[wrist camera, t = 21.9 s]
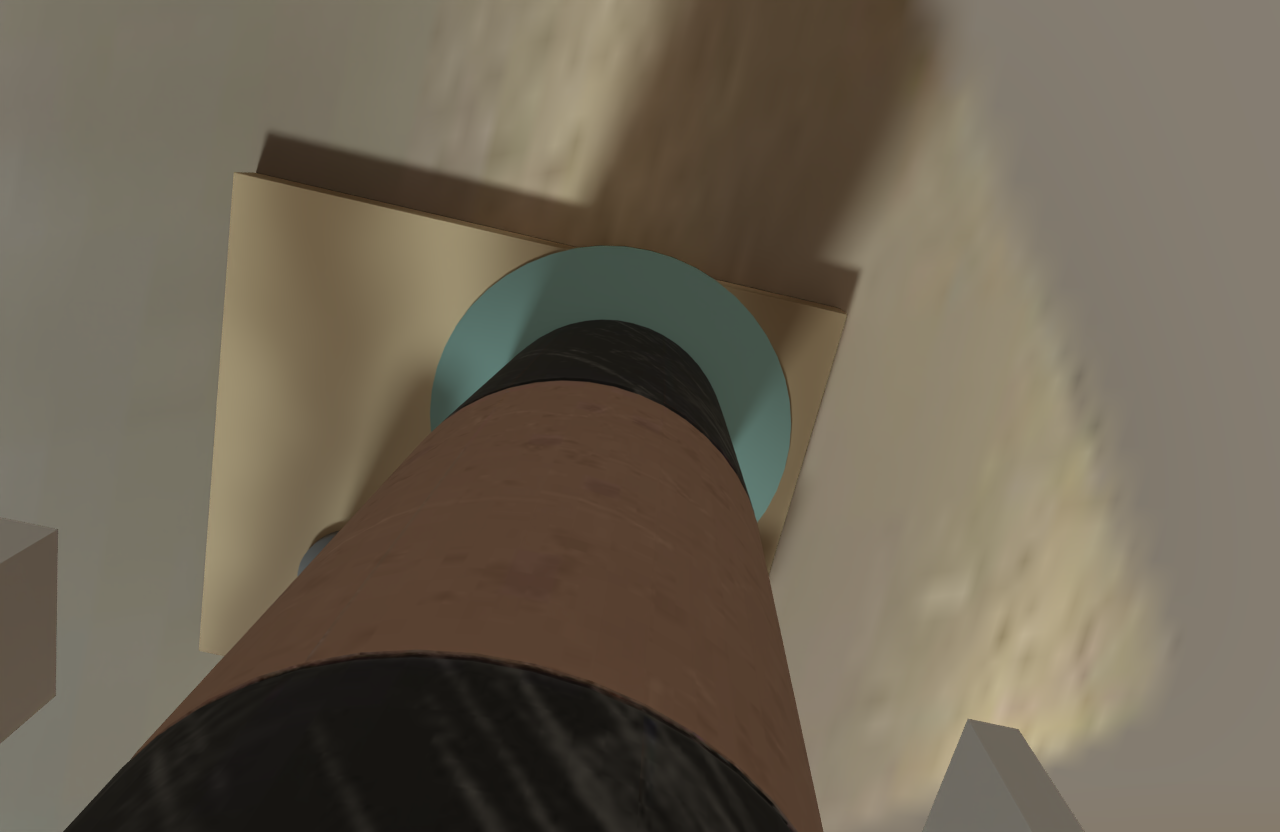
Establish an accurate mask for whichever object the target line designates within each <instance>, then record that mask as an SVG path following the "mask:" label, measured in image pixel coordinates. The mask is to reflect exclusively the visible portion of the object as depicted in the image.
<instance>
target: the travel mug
mask: <svg viewBox="0 0 1280 832" xmlns="http://www.w3.org/2000/svg"><path fill="white" fill-rule="evenodd" d="M63 832H823V828H822V823H821V818H820V814H819V809H818V804H817V800H816V795H815V790H814V786H813V781H812V776H811V772H810V767H809V762H808V758H807V753H806V748H805V744H804V739H803V734H802V730H801V725H800V720H799V716H798V711H797V706H796V702H795V697H794V692H793V688H792V683H791V678H790V674H789V669H788V664H787V660H786V655H785V650H784V646H783V641H782V636H781V632H780V627H779V622H778V618H777V613H776V608H775V604H774V599H773V594H772V590H771V585H770V580H769V576H768V571H767V566H766V562H765V557H764V552H763V548H762V543H761V538H760V534H759V529H758V524H757V520H756V517H755V513H754V510H753V507H752V503H751V500H750V497H749V494H748V491H747V488H746V485H745V482H744V478H743V475H742V472H741V469H740V466H739V463H738V460H737V456H736V453H735V450H734V447H733V444H732V441H731V438H730V435H729V431H728V428H727V425H726V422H725V419H724V416H723V413H722V410H721V407H720V404H719V402H718V399H717V396H716V394H715V392H714V390H713V388H712V386H711V384H710V382H709V380H708V378H707V377H706V375H705V374H704V372H703V371H702V369H701V368H700V367H699V365H698V364H697V363H696V362H695V361H694V360H693V358H692V357H691V356H690V355H689V354H688V353H687V352H686V351H684V350H683V349H682V348H681V347H680V346H679V345H677V344H676V343H675V342H673V341H672V340H670V339H669V338H667V337H665V336H664V335H662V334H660V333H658V332H656V331H654V330H652V329H649V328H647V327H644V326H641V325H637V324H634V323H630V322H624V321H619V320H603V319H601V320H588V321H582V322H577V323H573V324H569V325H566V326H563V327H561V328H558V329H555V330H553V331H551V332H549V333H548V334H546V335H544V336H542V337H540V338H538V339H537V340H536V341H534V342H533V343H531V344H530V345H529V346H527V347H526V348H525V349H523V350H522V351H521V352H520V353H518V354H517V355H516V356H515V357H514V358H513V359H512V360H511V361H509V362H508V363H507V364H506V365H505V366H504V367H503V368H502V369H501V370H499V371H498V372H497V373H496V374H495V375H494V376H493V377H492V378H490V379H489V380H488V381H487V382H486V383H485V384H484V385H483V386H482V387H480V388H479V389H478V390H477V391H476V392H475V393H474V394H473V395H472V396H470V397H469V398H468V399H467V400H466V401H465V402H464V403H463V404H461V405H460V406H459V407H458V408H457V409H456V410H455V411H454V412H453V413H451V414H450V415H449V416H448V417H447V418H446V419H445V420H444V421H443V422H442V423H441V424H439V425H438V426H437V427H436V428H435V429H434V430H433V431H432V432H431V433H430V434H429V435H428V436H427V437H426V438H425V439H424V440H423V441H422V442H421V443H420V444H419V445H418V446H417V447H416V448H415V449H414V450H413V452H412V453H411V454H410V455H409V456H408V457H407V458H406V459H405V460H404V461H403V462H402V464H401V465H400V466H399V467H398V468H397V469H396V470H395V471H394V472H393V473H392V474H391V476H390V477H389V478H388V479H387V480H386V481H385V482H384V483H383V484H382V485H381V486H380V487H379V489H378V490H377V491H376V492H375V493H374V494H373V495H372V496H371V497H370V498H369V499H368V501H367V502H366V503H365V504H364V505H363V506H362V507H361V508H360V509H359V510H358V511H357V513H356V514H355V515H354V516H353V517H352V518H351V519H350V520H349V521H348V522H347V523H346V525H345V526H344V527H343V528H342V529H341V530H340V531H339V532H338V533H337V534H336V535H335V537H334V538H333V539H332V540H331V541H330V542H329V543H328V544H327V545H326V546H325V547H324V548H323V550H322V551H321V552H320V553H319V554H318V555H317V556H316V557H315V558H314V559H313V560H312V562H311V563H310V564H309V565H308V566H307V567H306V568H305V569H304V570H303V571H302V572H301V574H300V575H299V576H298V577H297V578H296V579H295V580H294V581H293V582H292V583H291V584H290V586H289V587H288V588H287V589H286V590H285V591H284V592H283V593H282V594H281V595H280V596H279V597H278V599H277V600H276V601H275V602H274V603H273V604H272V605H271V606H270V607H269V608H268V609H267V611H266V612H265V613H264V614H263V615H262V616H261V617H260V618H259V619H258V620H257V621H256V623H255V624H254V625H253V626H252V627H251V628H250V629H249V630H248V631H247V632H246V633H245V635H244V636H243V637H242V638H241V639H240V640H239V641H238V642H237V643H236V644H235V645H234V646H233V648H232V649H231V650H230V651H229V652H228V653H227V654H226V655H225V656H224V657H223V658H222V660H221V661H220V662H219V663H218V664H217V665H216V666H215V667H214V668H213V669H212V670H211V672H210V673H209V674H208V675H207V676H206V677H205V678H204V679H203V680H202V681H201V682H200V684H199V685H198V686H197V687H196V688H195V689H194V690H193V691H192V692H191V693H190V694H189V695H188V697H187V698H186V699H185V700H184V701H183V702H182V703H181V704H180V705H179V706H178V707H177V709H176V710H175V711H174V712H173V713H172V714H171V715H170V716H169V717H168V718H167V719H166V721H165V722H164V723H163V724H162V725H161V726H160V727H159V728H158V729H157V730H156V731H155V733H154V734H153V735H152V736H151V737H150V738H149V739H148V740H147V741H146V742H145V743H144V744H143V746H142V747H141V748H140V749H139V750H138V751H137V752H136V753H135V755H134V756H133V757H132V759H131V760H130V761H129V762H128V763H127V764H126V765H125V766H123V767H122V768H121V769H120V771H119V772H118V773H117V774H116V775H115V776H114V777H113V778H112V779H111V780H110V781H109V783H108V784H107V785H106V786H105V787H104V788H103V789H102V790H101V791H100V792H99V793H98V795H97V796H96V797H95V798H94V799H93V800H92V801H91V802H90V803H89V804H88V805H87V806H86V808H85V809H84V810H83V811H82V812H81V813H80V814H79V815H78V816H77V817H76V818H75V820H74V821H73V822H72V823H71V824H70V825H69V826H68V827H67V828H66V829H65V830H64V831H63Z"/></svg>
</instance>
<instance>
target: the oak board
mask: <svg viewBox="0 0 1280 832" xmlns="http://www.w3.org/2000/svg"><path fill="white" fill-rule="evenodd" d="M574 248H577V247H573V246H569V245H565V244H560V243H556V242H552V241H547V240H543V239H539V238H534V237H530V236H526V235H521V234H517V233H513V232H508V231H504V230H500V229H496V228H491V227H487V226H483V225H478V224H474V223H470V222H465V221H461V220H457V219H452V218H448V217H444V216H440V215H435V214H431V213H427V212H422V211H418V210H414V209H409V208H405V207H401V206H396V205H392V204H388V203H383V202H379V201H375V200H371V199H366V198H362V197H358V196H353V195H349V194H345V193H340V192H336V191H332V190H327V189H323V188H319V187H315V186H310V185H306V184H302V183H297V182H293V181H289V180H284V179H280V178H276V177H271V176H267V175H263V174H259V173H239V172H234V178H233V191H232V205H231V219H230V232H229V246H228V260H227V273H226V287H225V301H224V314H223V328H222V342H221V355H220V369H219V383H218V396H217V410H216V424H215V437H214V451H213V465H212V478H211V492H210V506H209V520H208V533H207V547H206V561H205V574H204V588H203V602H202V615H201V629H200V643H199V651H203V652H208V653H212V654H217V655H221V656H225V655H226V654H227V653H228V652H229V651H230V650H231V649H232V648H233V646H234V645H235V644H236V643H237V642H238V641H239V640H240V639H241V638H242V637H243V636H244V635H245V633H246V632H247V631H248V630H249V629H250V628H251V627H252V626H253V625H254V624H255V623H256V621H257V620H258V619H259V618H260V617H261V616H262V615H263V614H264V613H265V612H266V611H267V609H268V608H269V607H270V606H271V605H272V604H273V603H274V602H275V601H276V600H277V599H278V597H279V596H280V595H281V594H282V593H283V592H284V591H285V590H286V589H287V588H288V587H289V586H290V584H291V583H292V582H293V581H294V580H295V579H296V578H297V577H298V576H299V575H300V574H301V572H302V571H303V570H304V569H305V568H306V567H307V566H308V565H309V564H310V563H311V562H312V560H313V559H314V558H315V557H316V556H317V555H318V554H319V553H320V552H321V551H322V550H323V548H324V547H325V546H326V545H327V544H328V543H329V542H330V541H331V540H332V539H333V538H334V537H335V535H336V534H337V533H338V532H339V531H340V530H341V529H342V528H343V527H344V526H345V525H346V523H347V522H348V521H349V520H350V519H351V518H352V517H353V516H354V515H355V514H356V513H357V511H358V510H359V509H360V508H361V507H362V506H363V505H364V504H365V503H366V502H367V501H368V499H369V498H370V497H371V496H372V495H373V494H374V493H375V492H376V491H377V490H378V489H379V487H380V486H381V485H382V484H383V483H384V482H385V481H386V480H387V479H388V478H389V477H390V476H391V474H392V473H393V472H394V471H395V470H396V469H397V468H398V467H399V466H400V465H401V464H402V462H403V461H404V460H405V459H406V458H407V457H408V456H409V455H410V454H411V453H412V452H413V450H414V449H415V448H416V447H417V446H418V445H419V444H420V443H421V442H422V441H423V440H424V439H425V438H426V437H427V436H428V435H429V434H430V433H431V424H430V405H431V393H432V387H433V382H434V378H435V374H436V369H437V366H438V363H439V361H440V358H441V355H442V353H443V350H444V347H445V345H446V343H447V342H448V340H449V338H450V336H451V334H452V332H453V331H454V329H455V327H456V325H457V324H458V323H459V321H460V320H461V319H462V317H463V316H464V315H465V313H466V312H467V311H468V309H469V308H470V307H471V306H472V305H473V304H474V303H475V302H476V301H477V300H478V299H479V298H480V297H481V296H482V295H483V294H484V293H485V292H486V291H487V290H488V289H489V288H490V287H492V286H493V285H494V284H496V283H497V282H498V281H500V280H501V279H502V278H504V277H505V276H506V275H508V274H510V273H512V272H513V271H515V270H517V269H519V268H520V267H522V266H524V265H526V264H528V263H530V262H533V261H535V260H538V259H540V258H543V257H545V256H548V255H550V254H554V253H558V252H562V251H566V250H570V249H574ZM714 280H715V279H714ZM716 281H718V282H719V283H720V284H721V285H722V286H723V287H724V288H726V289H727V290H728V291H729V292H730V293H732V294H733V295H734V296H735V297H736V298H737V299H738V300H739V301H740V302H741V303H742V304H743V305H744V306H745V307H746V309H747V310H748V311H749V312H750V313H751V314H752V315H753V317H754V318H755V319H756V321H757V322H758V324H759V325H760V327H761V328H762V329H763V331H764V332H765V334H766V335H767V337H768V339H769V341H770V343H771V345H772V347H773V349H774V351H775V353H776V355H777V357H778V360H779V362H780V365H781V368H782V371H783V374H784V377H785V380H786V385H787V390H788V395H789V401H790V414H791V433H790V445H789V451H788V456H787V460H786V465H785V469H784V472H783V475H782V478H781V480H780V483H779V486H778V488H777V491H776V493H775V495H774V497H773V498H772V500H771V502H770V504H769V506H768V508H767V510H766V511H765V513H764V514H763V515H762V517H761V518H760V520H759V521H758V522H757V524H758V529H759V534H760V538H761V543H762V548H763V552H764V557H765V562H766V566H767V571H768V576H769V572H770V569H771V566H772V562H773V559H774V556H775V552H776V549H777V546H778V542H779V539H780V536H781V533H782V529H783V526H784V523H785V519H786V516H787V513H788V509H789V506H790V503H791V499H792V496H793V493H794V490H795V486H796V483H797V480H798V476H799V473H800V470H801V466H802V463H803V460H804V456H805V453H806V450H807V447H808V443H809V440H810V437H811V433H812V430H813V427H814V423H815V420H816V417H817V413H818V410H819V407H820V404H821V400H822V397H823V394H824V390H825V387H826V384H827V380H828V377H829V374H830V371H831V367H832V364H833V361H834V357H835V354H836V351H837V347H838V344H839V341H840V337H841V334H842V331H843V328H844V324H845V321H846V318H847V314H846V313H845V312H843V311H842V310H841V309H840V308H836V307H832V306H827V305H823V304H819V303H815V302H810V301H806V300H802V299H797V298H793V297H789V296H784V295H780V294H776V293H771V292H767V291H763V290H758V289H754V288H750V287H746V286H741V285H737V284H733V283H728V282H724V281H720V280H716Z"/></svg>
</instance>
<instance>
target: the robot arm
mask: <svg viewBox="0 0 1280 832" xmlns="http://www.w3.org/2000/svg"><path fill="white" fill-rule="evenodd" d="M57 553H58V529H54V528H49V527H44V526H40V525H35V524H30V523H25V522H20V521H16V520H11V519H6V518H0V743H2V742H3V741H4V740H5V739H6V738H7V737H8V736H10V735H11V734H12V733H13V732H14V731H15V730H17V729H18V728H19V727H20V726H21V725H22V724H23V723H25V722H26V721H27V720H28V719H29V718H30V717H32V716H33V715H34V714H35V713H36V712H37V711H38V710H40V709H41V708H42V707H43V706H44V705H45V704H47V703H48V702H49V701H50V700H51V699H52V698H53V697H55V696H56V626H57ZM922 832H1085V831H1084V830H1083V828H1082V827H1081V825H1080V823H1079V822H1078V820H1077V819H1076V817H1075V816H1074V814H1073V813H1072V811H1071V810H1070V808H1069V807H1068V805H1067V804H1066V802H1065V801H1064V799H1063V798H1062V796H1061V794H1060V793H1059V791H1058V790H1057V788H1056V787H1055V785H1054V784H1053V782H1052V780H1051V779H1050V777H1049V776H1048V774H1047V773H1046V771H1045V770H1044V768H1043V767H1042V765H1041V763H1040V762H1039V760H1038V759H1037V757H1036V756H1035V754H1034V753H1033V751H1032V750H1031V748H1030V747H1029V745H1028V743H1027V742H1026V740H1025V739H1024V737H1023V736H1022V734H1021V733H1020V731H1019V730H1018V729H1014V728H1010V727H1005V726H1000V725H995V724H990V723H986V722H981V721H976V720H971V719H968V720H967V722H966V725H965V727H964V730H963V732H962V735H961V737H960V740H959V742H958V744H957V747H956V749H955V752H954V754H953V757H952V759H951V762H950V764H949V767H948V769H947V772H946V774H945V776H944V779H943V781H942V784H941V786H940V789H939V791H938V794H937V796H936V799H935V801H934V803H933V806H932V808H931V811H930V813H929V816H928V818H927V821H926V823H925V826H924V828H923V831H922Z"/></svg>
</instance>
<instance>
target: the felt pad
mask: <svg viewBox="0 0 1280 832" xmlns="http://www.w3.org/2000/svg"><path fill="white" fill-rule="evenodd" d="M601 319H603V320H619V321H624V322H630V323H634V324H637V325H641V326H644V327H647V328H649V329H652V330H654V331H656V332H658V333H660V334H662V335H664V336H665V337H667V338H669V339H670V340H672V341H673V342H675V343H676V344H677V345H679V346H680V347H681V348H682V349H683V350H684V351H686V352H687V353H688V354H689V355H690V356H691V357H692V358H693V360H694V361H695V362H696V363H697V364H698V365H699V367H700V368H701V369H702V371H703V372H704V374H705V375H706V377H707V378H708V380H709V382H710V384H711V386H712V388H713V390H714V392H715V394H716V396H717V399H718V402H719V404H720V407H721V410H722V413H723V416H724V419H725V422H726V425H727V428H728V431H729V435H730V438H731V441H732V444H733V447H734V450H735V453H736V456H737V460H738V463H739V466H740V469H741V472H742V475H743V478H744V482H745V485H746V488H747V491H748V494H749V497H750V500H751V503H752V507H753V510H754V513H755V517H756V520H757V522H758V521H759V520H760V518H761V517H762V515H763V514H764V513H765V511H766V510H767V508H768V506H769V504H770V502H771V500H772V498H773V497H774V495H775V493H776V491H777V488H778V486H779V483H780V480H781V478H782V475H783V472H784V469H785V465H786V460H787V456H788V451H789V445H790V433H791V414H790V401H789V395H788V390H787V385H786V380H785V377H784V374H783V371H782V368H781V365H780V362H779V360H778V357H777V355H776V353H775V351H774V349H773V347H772V345H771V343H770V341H769V339H768V337H767V335H766V334H765V332H764V331H763V329H762V328H761V327H760V325H759V324H758V322H757V321H756V319H755V318H754V317H753V315H752V314H751V313H750V312H749V311H748V310H747V309H746V307H745V306H744V305H743V304H742V303H741V302H740V301H739V300H738V299H737V298H736V297H735V296H734V295H733V294H732V293H730V292H729V291H728V290H727V289H726V288H724V287H723V286H722V285H721V284H720V283H719V282H718V281H716V280H714V279H713V278H711V277H710V276H708V275H707V274H705V273H703V272H702V271H700V270H699V269H697V268H695V267H693V266H691V265H688V264H686V263H684V262H682V261H680V260H678V259H675V258H673V257H670V256H666V255H663V254H660V253H657V252H653V251H650V250H644V249H638V248H632V247H626V246H591V247H582V248H574V249H570V250H566V251H562V252H558V253H554V254H550V255H548V256H545V257H543V258H540V259H538V260H535V261H533V262H530V263H528V264H526V265H524V266H522V267H520V268H519V269H517V270H515V271H513V272H512V273H510V274H508V275H506V276H505V277H504V278H502V279H501V280H500V281H498V282H497V283H496V284H494V285H493V286H492V287H490V288H489V289H488V290H487V291H486V292H485V293H484V294H483V295H482V296H481V297H480V298H479V299H478V300H477V301H476V302H475V303H474V304H473V305H472V306H471V307H470V308H469V309H468V311H467V312H466V313H465V315H464V316H463V317H462V319H461V320H460V321H459V323H458V324H457V325H456V327H455V329H454V331H453V332H452V334H451V336H450V338H449V340H448V342H447V343H446V345H445V347H444V350H443V353H442V355H441V358H440V361H439V363H438V366H437V369H436V374H435V378H434V382H433V387H432V393H431V405H430V424H431V432H432V431H433V430H434V429H435V428H436V427H437V426H438V425H439V424H441V423H442V422H443V421H444V420H445V419H446V418H447V417H448V416H449V415H450V414H451V413H453V412H454V411H455V410H456V409H457V408H458V407H459V406H460V405H461V404H463V403H464V402H465V401H466V400H467V399H468V398H469V397H470V396H472V395H473V394H474V393H475V392H476V391H477V390H478V389H479V388H480V387H482V386H483V385H484V384H485V383H486V382H487V381H488V380H489V379H490V378H492V377H493V376H494V375H495V374H496V373H497V372H498V371H499V370H501V369H502V368H503V367H504V366H505V365H506V364H507V363H508V362H509V361H511V360H512V359H513V358H514V357H515V356H516V355H517V354H518V353H520V352H521V351H522V350H523V349H525V348H526V347H527V346H529V345H530V344H531V343H533V342H534V341H536V340H537V339H538V338H540V337H542V336H544V335H546V334H548V333H549V332H551V331H553V330H555V329H558V328H561V327H563V326H566V325H569V324H573V323H577V322H582V321H588V320H601Z"/></svg>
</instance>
